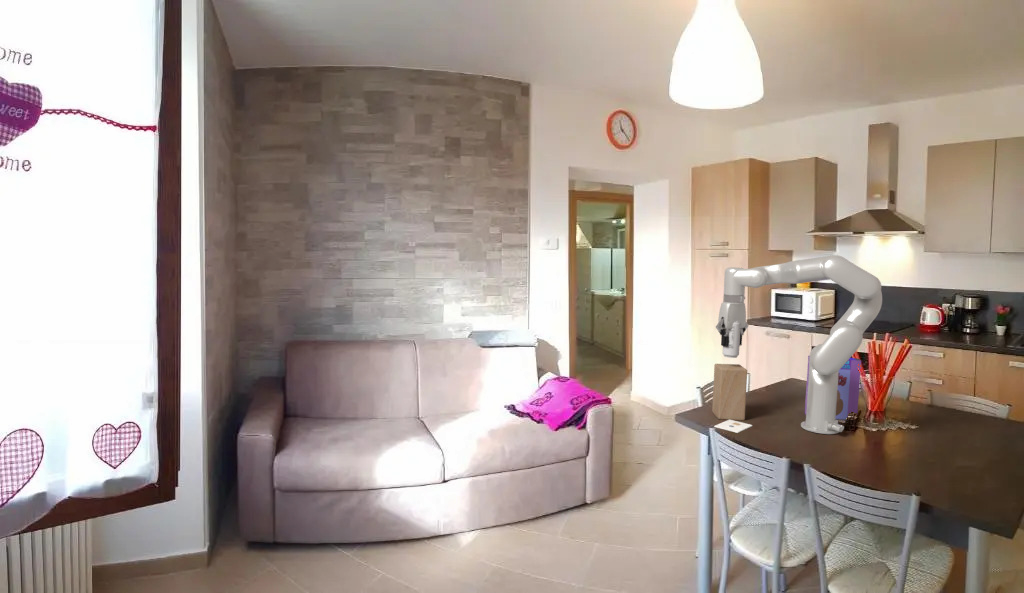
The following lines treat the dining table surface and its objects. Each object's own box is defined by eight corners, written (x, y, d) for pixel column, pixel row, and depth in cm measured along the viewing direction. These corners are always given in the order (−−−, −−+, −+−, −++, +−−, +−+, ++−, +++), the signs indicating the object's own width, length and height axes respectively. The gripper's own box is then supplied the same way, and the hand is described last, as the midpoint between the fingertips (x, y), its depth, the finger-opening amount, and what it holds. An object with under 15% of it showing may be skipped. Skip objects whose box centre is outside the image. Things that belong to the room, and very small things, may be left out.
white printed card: (752, 425, 214) (752, 424, 214) (737, 432, 206) (737, 431, 206) (729, 420, 220) (729, 419, 220) (714, 426, 212) (714, 425, 212)
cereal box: (807, 417, 226) (811, 357, 223) (804, 413, 230) (808, 355, 228) (856, 421, 222) (861, 360, 219) (852, 417, 226) (856, 357, 224)
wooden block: (737, 413, 230) (740, 364, 228) (745, 420, 220) (747, 369, 218) (711, 412, 231) (714, 363, 229) (718, 419, 221) (720, 368, 219)
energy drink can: (742, 357, 221) (744, 319, 220) (730, 358, 219) (732, 319, 217) (731, 354, 227) (733, 317, 225) (719, 355, 224) (720, 317, 223)
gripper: (743, 298, 227) (740, 342, 229) (709, 299, 221) (707, 345, 222) (758, 299, 220) (755, 345, 222) (723, 301, 214) (721, 348, 215)
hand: (731, 345), depth 222 cm, fingers closed on energy drink can, 6 cm apart
